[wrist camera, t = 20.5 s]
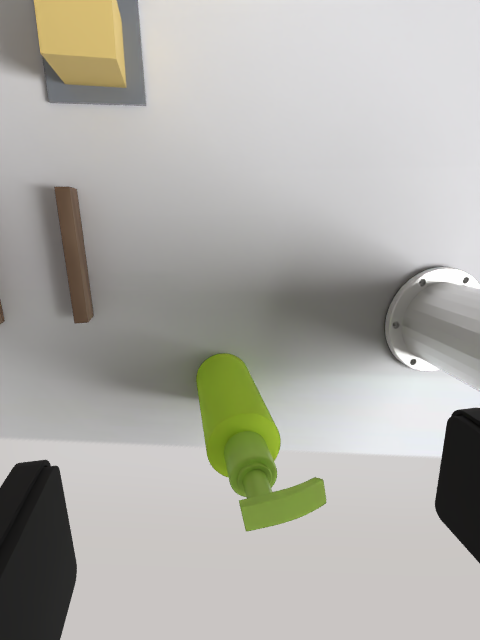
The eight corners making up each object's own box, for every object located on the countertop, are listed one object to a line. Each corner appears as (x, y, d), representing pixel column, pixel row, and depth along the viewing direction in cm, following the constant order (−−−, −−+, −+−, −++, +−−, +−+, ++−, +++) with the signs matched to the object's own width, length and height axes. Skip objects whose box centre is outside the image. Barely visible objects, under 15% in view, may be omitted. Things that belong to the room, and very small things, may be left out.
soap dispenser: (260, 392, 42) (333, 533, 23) (202, 407, 41) (227, 566, 22) (252, 345, 40) (322, 457, 21) (191, 360, 40) (208, 490, 21)
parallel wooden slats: (76, 189, 33) (69, 186, 31) (93, 315, 36) (88, 322, 34) (-38, 189, 32) (-55, 187, 29) (-9, 322, 35) (-23, 329, 33)
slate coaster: (137, -2, 30) (137, -5, 30) (146, 105, 32) (145, 104, 32) (34, -10, 29) (32, -13, 29) (50, 102, 31) (48, 101, 31)
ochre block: (121, 19, 30) (109, -27, 24) (126, 87, 31) (116, 58, 26) (57, 14, 29) (29, -36, 24) (65, 84, 31) (40, 53, 25)
